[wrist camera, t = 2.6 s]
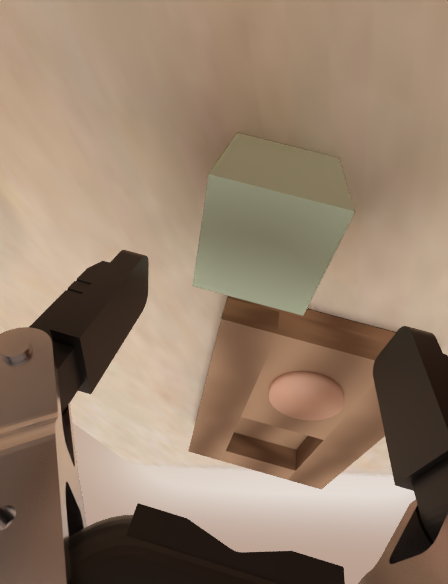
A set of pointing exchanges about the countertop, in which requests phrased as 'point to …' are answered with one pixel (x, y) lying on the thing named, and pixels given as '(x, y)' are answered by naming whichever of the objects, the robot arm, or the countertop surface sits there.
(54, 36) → the countertop surface
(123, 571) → the robot arm
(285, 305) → the green block
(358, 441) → the puzzle board
